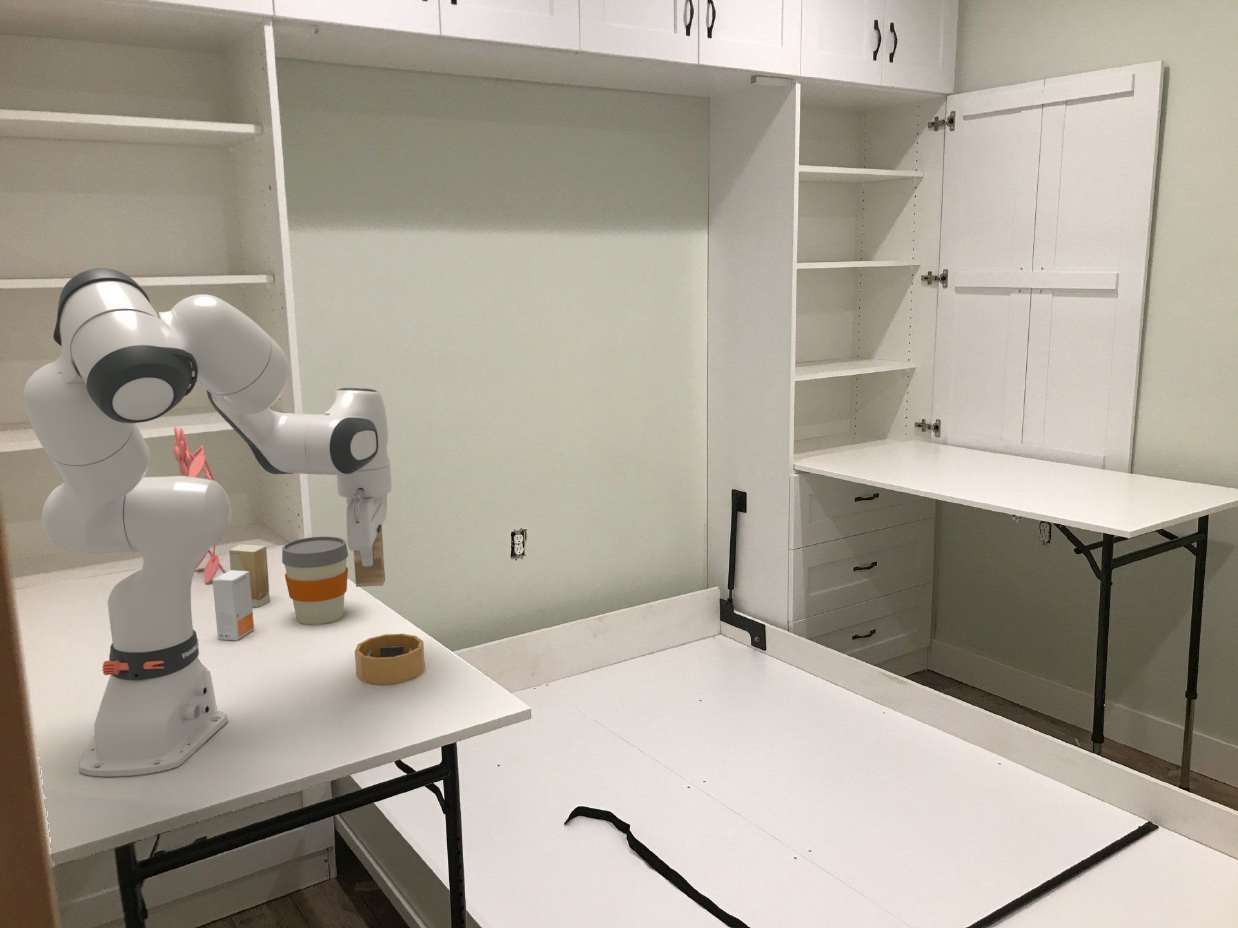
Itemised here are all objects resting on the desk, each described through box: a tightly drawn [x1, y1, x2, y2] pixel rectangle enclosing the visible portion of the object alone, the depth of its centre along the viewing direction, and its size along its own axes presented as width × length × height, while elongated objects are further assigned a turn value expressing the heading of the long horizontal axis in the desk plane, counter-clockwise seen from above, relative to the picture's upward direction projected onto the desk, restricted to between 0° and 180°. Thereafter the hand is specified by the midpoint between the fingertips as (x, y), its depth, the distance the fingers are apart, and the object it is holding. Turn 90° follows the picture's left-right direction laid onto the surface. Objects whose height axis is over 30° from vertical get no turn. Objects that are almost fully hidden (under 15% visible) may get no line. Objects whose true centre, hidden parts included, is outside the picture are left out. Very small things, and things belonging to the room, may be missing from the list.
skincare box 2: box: [212, 569, 255, 642], centre depth 187 cm, size 6×4×12 cm
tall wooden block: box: [353, 525, 386, 588], centre depth 168 cm, size 3×4×10 cm, turn 96°
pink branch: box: [173, 426, 227, 584], centre depth 219 cm, size 15×26×35 cm, turn 31°
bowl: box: [354, 633, 426, 685], centre depth 169 cm, size 11×11×4 cm
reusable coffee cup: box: [281, 535, 349, 626], centre depth 195 cm, size 13×13×15 cm
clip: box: [368, 646, 412, 658], centre depth 169 cm, size 7×9×3 cm
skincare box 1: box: [228, 543, 271, 608], centre depth 204 cm, size 6×4×12 cm
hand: (370, 561), depth 168 cm, fingers closed on tall wooden block, 3 cm apart
